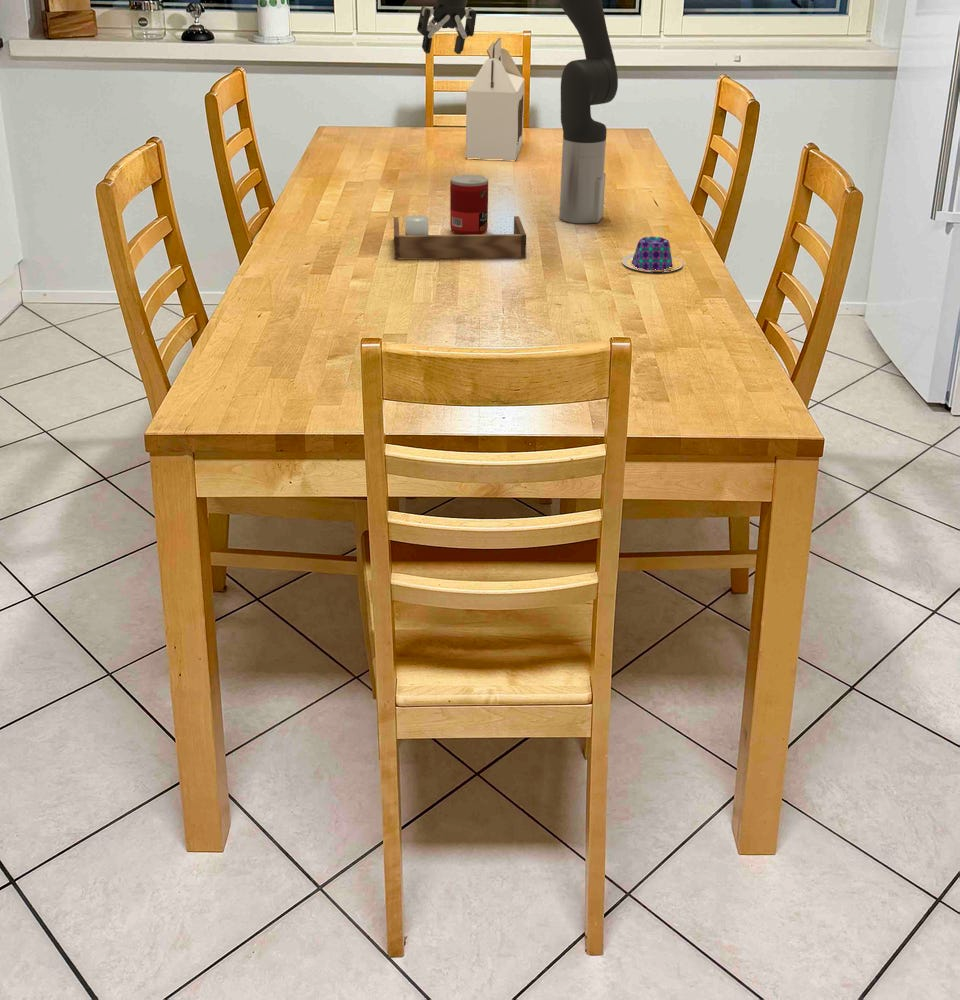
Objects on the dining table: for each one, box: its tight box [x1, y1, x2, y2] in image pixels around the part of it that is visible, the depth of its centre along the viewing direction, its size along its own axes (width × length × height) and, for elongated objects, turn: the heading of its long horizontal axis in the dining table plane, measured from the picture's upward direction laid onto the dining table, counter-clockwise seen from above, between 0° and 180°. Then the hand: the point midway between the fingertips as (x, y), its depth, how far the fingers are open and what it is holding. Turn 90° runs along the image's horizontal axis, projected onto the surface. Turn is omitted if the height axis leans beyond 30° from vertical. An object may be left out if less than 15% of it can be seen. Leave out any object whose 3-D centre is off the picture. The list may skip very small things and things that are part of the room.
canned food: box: [449, 174, 489, 235], centre depth 242 cm, size 8×8×11 cm
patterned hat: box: [621, 236, 684, 273], centre depth 225 cm, size 12×12×5 cm
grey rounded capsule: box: [404, 214, 429, 235], centre depth 229 cm, size 5×5×7 cm
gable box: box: [465, 37, 526, 161], centre depth 304 cm, size 22×13×28 cm, turn 173°
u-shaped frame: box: [393, 215, 527, 259], centre depth 233 cm, size 26×14×4 cm, turn 94°
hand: (442, 52), depth 277 cm, fingers open, 8 cm apart
